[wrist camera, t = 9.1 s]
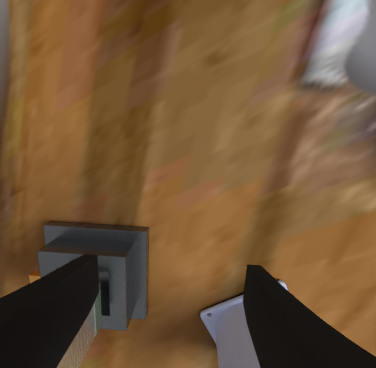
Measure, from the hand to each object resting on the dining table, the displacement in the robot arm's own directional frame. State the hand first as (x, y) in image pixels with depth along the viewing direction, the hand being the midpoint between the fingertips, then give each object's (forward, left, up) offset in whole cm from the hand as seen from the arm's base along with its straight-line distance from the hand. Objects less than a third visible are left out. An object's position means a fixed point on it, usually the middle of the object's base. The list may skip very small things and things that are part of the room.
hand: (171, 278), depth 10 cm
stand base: (+11, +2, -10) cm, 15 cm away
